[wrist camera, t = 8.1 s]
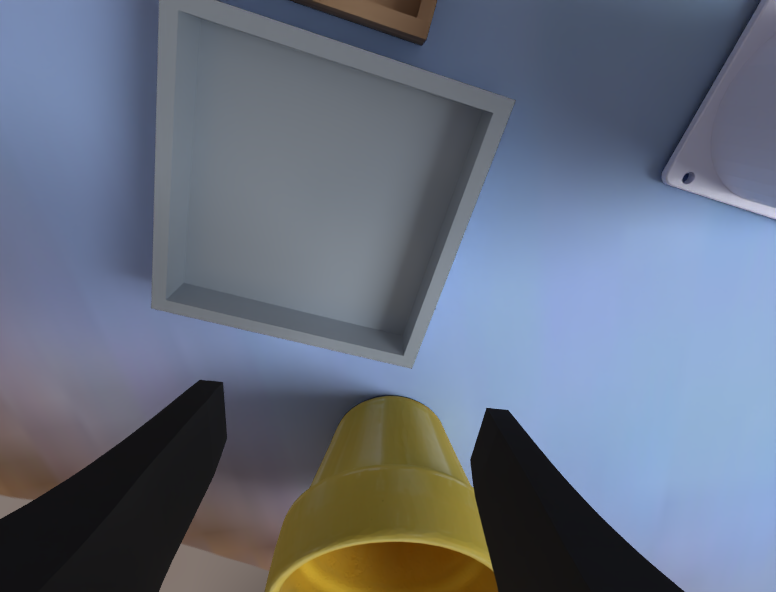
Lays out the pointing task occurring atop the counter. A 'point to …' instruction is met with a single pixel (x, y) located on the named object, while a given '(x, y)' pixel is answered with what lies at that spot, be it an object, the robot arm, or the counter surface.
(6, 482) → the counter surface
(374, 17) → the tray
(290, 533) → the plant pot
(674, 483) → the counter surface
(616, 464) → the counter surface
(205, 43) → the dish
